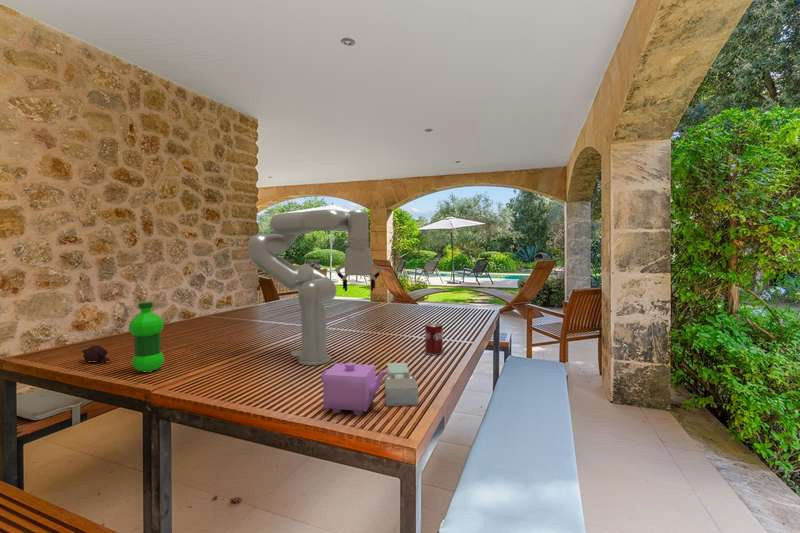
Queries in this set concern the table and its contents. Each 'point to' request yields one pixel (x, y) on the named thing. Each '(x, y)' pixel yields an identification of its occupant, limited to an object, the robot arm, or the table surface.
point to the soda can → (433, 338)
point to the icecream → (95, 353)
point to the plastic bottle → (147, 339)
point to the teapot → (350, 387)
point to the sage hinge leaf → (397, 370)
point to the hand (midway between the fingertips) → (359, 290)
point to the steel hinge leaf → (401, 391)
